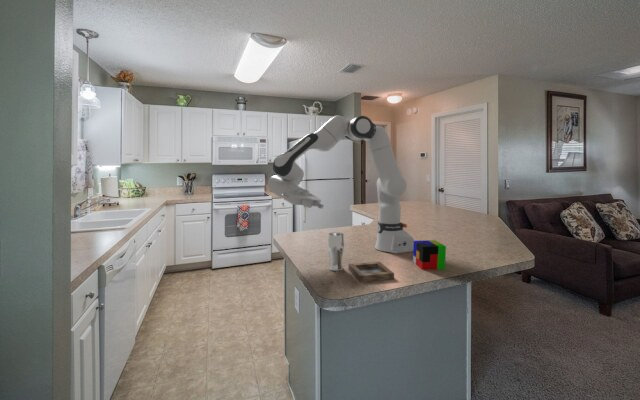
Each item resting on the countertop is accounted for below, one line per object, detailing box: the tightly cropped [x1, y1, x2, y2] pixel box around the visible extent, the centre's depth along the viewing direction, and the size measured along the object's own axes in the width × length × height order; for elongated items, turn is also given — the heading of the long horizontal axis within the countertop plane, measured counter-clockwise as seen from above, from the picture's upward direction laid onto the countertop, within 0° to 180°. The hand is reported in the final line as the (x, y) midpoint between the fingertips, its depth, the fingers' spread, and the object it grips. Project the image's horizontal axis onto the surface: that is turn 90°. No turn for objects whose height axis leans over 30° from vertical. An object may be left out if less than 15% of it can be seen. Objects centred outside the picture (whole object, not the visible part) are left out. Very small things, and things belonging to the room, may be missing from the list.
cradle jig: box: [348, 261, 395, 283], centre depth 123 cm, size 14×14×2 cm
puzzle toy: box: [412, 239, 447, 271], centre depth 133 cm, size 10×10×10 cm
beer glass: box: [327, 231, 345, 272], centre depth 129 cm, size 7×7×15 cm
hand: (316, 206), depth 137 cm, fingers open, 8 cm apart
